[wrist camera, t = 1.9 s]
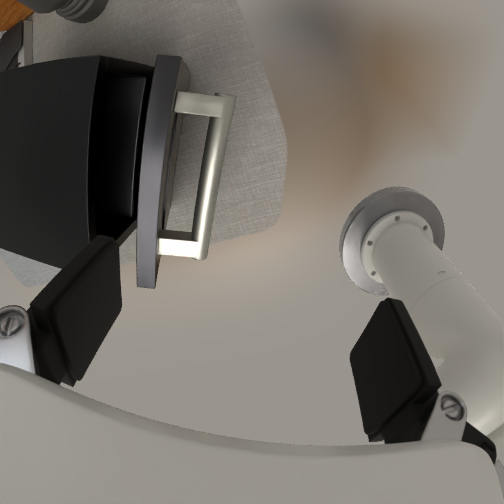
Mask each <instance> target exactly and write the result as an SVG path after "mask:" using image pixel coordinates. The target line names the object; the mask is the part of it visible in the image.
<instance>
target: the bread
mask: <svg viewBox="0 0 504 504" xmlns="http://www.w3.org/2000/svg"><path fill="white" fill-rule="evenodd" d="M33 12H35V11H33V10H32V9H30V8H28V7H27V6H25V5H23V4H22V3H20V2H18V1H17V0H0V31H4V30H9V29H10V28H12V27H13V26H14V25H16V24H17V23H18V22H20V21H21V20H23V21H24V20H25V19H27V18H28V17H29V16H30V15H31V14H32V13H33Z"/></svg>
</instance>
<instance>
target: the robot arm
mask: <svg viewBox="0 0 504 504" xmlns="http://www.w3.org/2000/svg"><path fill="white" fill-rule="evenodd" d="M368 241H369V242H368ZM361 261H362V264H363V267H364V269H365V270H366V272H367V274H368V275H369V276H370V277H371V278H372V279H373V280H375V281H377V282H379V283H382V284H384V285H385V287H386V289H387V291H388V293H389V295H390V297H391V298H386V299H385V300H384V301H381V302H380V303H379V305H378V307H377V309H376V310H375V312H374V314H373V316H372V317H371V319H370V321H369V323H368V324H367V326H366V328H365V329H364V331H363V333H362V334H361V336H360V338H359V339H358V341H357V343H356V344H355V346H354V348H353V349H352V351H351V353H350V363H351V367H352V372H353V376H354V381H355V385H356V391H357V395H358V400H359V405H360V411H361V416H362V421H363V427H364V432H365V433H366V434H368V438H369V442H378V443H379V444H378V445H360V446H312V445H294V444H281V443H269V442H260V441H253V440H245V439H238V438H231V437H226V436H220V435H214V434H210V433H205V432H200V431H195V430H191V429H186V428H182V427H178V426H174V425H170V424H166V423H163V422H159V421H155V420H152V419H148V418H145V417H142V416H139V415H136V414H132V413H129V412H126V411H123V410H121V409H118V408H114V407H112V406H109V405H106V404H104V403H101V402H99V401H96V400H94V399H91V398H88V397H85V396H83V395H81V394H78V393H76V392H74V391H71V390H69V389H67V388H64V387H62V386H60V383H61V382H63V383H65V384H67V385H70V386H72V387H73V386H74V385H75V382H76V381H77V380H78V381H80V380H81V379H82V378H83V376H84V374H85V372H86V370H87V368H88V367H89V365H90V363H91V361H92V360H93V358H94V356H95V354H96V352H97V351H98V349H99V347H100V345H101V344H102V342H103V340H104V338H105V337H106V335H107V333H108V331H109V330H110V328H111V326H112V325H113V323H114V322H115V320H116V318H117V316H118V315H119V313H120V311H121V308H122V298H121V284H120V283H121V282H120V260H119V245H118V243H115V239H114V238H112V237H108V236H104V235H98V236H96V237H95V238H94V239H93V240H92V241H91V242H90V243H89V244H88V245H87V246H85V247H84V248H83V249H82V250H81V251H80V252H79V253H78V254H77V255H76V256H75V257H74V258H73V259H72V260H71V261H70V262H69V263H68V264H67V265H66V266H65V267H64V268H63V269H62V270H61V271H60V272H59V273H58V274H57V275H56V276H55V277H54V278H53V279H52V280H51V281H50V282H49V283H48V284H47V285H46V287H45V288H44V289H43V290H42V291H41V292H40V293H39V294H38V295H37V296H36V297H35V299H34V300H33V301H32V302H31V303H30V308H29V309H28V310H27V311H26V310H25V309H24V308H22V307H21V306H17V305H9V306H6V307H3V308H1V309H0V504H504V322H503V321H502V320H501V319H500V318H499V317H498V316H497V315H496V313H495V312H493V310H492V309H491V308H490V307H489V306H488V304H487V303H486V302H485V301H484V300H483V299H482V297H481V296H480V295H479V294H478V293H477V291H476V290H475V289H474V288H473V287H472V285H470V283H469V282H468V281H467V279H466V278H465V277H464V276H463V275H462V274H461V273H460V271H459V270H458V269H457V268H456V267H455V266H454V264H453V263H452V262H451V261H450V260H449V259H448V258H447V256H446V255H445V254H444V253H443V252H442V251H441V250H440V249H439V248H438V247H437V246H436V245H435V244H434V242H433V234H432V230H431V228H430V226H429V224H428V223H427V221H426V220H425V219H424V218H423V217H421V216H420V215H418V214H417V213H415V212H412V211H406V210H401V211H395V212H391V213H389V214H387V215H385V216H383V217H381V218H380V219H379V220H378V221H376V222H375V223H374V224H373V225H372V226H371V228H370V229H369V231H368V232H367V234H366V236H365V238H364V240H363V243H362V247H361ZM430 356H432V357H436V358H440V359H444V361H443V363H442V364H441V365H440V366H439V367H438V368H436V369H435V367H434V365H433V363H432V360H431V358H430Z"/></svg>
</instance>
